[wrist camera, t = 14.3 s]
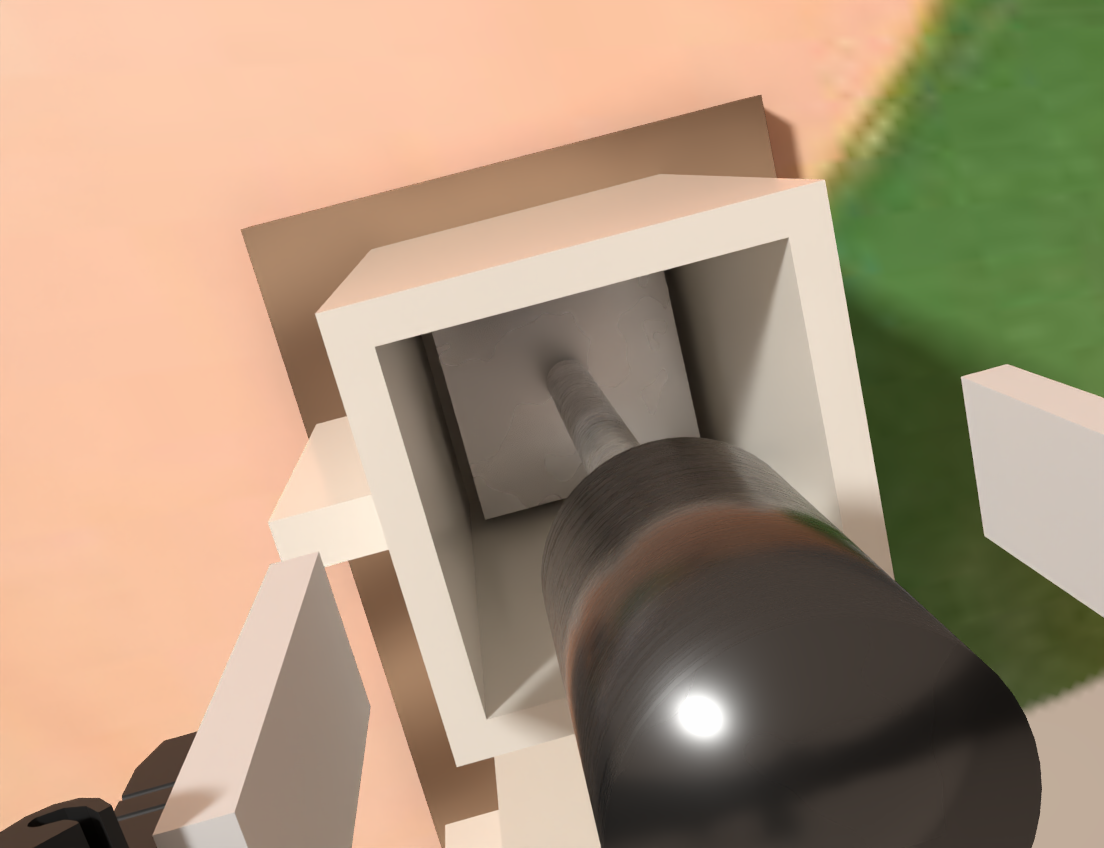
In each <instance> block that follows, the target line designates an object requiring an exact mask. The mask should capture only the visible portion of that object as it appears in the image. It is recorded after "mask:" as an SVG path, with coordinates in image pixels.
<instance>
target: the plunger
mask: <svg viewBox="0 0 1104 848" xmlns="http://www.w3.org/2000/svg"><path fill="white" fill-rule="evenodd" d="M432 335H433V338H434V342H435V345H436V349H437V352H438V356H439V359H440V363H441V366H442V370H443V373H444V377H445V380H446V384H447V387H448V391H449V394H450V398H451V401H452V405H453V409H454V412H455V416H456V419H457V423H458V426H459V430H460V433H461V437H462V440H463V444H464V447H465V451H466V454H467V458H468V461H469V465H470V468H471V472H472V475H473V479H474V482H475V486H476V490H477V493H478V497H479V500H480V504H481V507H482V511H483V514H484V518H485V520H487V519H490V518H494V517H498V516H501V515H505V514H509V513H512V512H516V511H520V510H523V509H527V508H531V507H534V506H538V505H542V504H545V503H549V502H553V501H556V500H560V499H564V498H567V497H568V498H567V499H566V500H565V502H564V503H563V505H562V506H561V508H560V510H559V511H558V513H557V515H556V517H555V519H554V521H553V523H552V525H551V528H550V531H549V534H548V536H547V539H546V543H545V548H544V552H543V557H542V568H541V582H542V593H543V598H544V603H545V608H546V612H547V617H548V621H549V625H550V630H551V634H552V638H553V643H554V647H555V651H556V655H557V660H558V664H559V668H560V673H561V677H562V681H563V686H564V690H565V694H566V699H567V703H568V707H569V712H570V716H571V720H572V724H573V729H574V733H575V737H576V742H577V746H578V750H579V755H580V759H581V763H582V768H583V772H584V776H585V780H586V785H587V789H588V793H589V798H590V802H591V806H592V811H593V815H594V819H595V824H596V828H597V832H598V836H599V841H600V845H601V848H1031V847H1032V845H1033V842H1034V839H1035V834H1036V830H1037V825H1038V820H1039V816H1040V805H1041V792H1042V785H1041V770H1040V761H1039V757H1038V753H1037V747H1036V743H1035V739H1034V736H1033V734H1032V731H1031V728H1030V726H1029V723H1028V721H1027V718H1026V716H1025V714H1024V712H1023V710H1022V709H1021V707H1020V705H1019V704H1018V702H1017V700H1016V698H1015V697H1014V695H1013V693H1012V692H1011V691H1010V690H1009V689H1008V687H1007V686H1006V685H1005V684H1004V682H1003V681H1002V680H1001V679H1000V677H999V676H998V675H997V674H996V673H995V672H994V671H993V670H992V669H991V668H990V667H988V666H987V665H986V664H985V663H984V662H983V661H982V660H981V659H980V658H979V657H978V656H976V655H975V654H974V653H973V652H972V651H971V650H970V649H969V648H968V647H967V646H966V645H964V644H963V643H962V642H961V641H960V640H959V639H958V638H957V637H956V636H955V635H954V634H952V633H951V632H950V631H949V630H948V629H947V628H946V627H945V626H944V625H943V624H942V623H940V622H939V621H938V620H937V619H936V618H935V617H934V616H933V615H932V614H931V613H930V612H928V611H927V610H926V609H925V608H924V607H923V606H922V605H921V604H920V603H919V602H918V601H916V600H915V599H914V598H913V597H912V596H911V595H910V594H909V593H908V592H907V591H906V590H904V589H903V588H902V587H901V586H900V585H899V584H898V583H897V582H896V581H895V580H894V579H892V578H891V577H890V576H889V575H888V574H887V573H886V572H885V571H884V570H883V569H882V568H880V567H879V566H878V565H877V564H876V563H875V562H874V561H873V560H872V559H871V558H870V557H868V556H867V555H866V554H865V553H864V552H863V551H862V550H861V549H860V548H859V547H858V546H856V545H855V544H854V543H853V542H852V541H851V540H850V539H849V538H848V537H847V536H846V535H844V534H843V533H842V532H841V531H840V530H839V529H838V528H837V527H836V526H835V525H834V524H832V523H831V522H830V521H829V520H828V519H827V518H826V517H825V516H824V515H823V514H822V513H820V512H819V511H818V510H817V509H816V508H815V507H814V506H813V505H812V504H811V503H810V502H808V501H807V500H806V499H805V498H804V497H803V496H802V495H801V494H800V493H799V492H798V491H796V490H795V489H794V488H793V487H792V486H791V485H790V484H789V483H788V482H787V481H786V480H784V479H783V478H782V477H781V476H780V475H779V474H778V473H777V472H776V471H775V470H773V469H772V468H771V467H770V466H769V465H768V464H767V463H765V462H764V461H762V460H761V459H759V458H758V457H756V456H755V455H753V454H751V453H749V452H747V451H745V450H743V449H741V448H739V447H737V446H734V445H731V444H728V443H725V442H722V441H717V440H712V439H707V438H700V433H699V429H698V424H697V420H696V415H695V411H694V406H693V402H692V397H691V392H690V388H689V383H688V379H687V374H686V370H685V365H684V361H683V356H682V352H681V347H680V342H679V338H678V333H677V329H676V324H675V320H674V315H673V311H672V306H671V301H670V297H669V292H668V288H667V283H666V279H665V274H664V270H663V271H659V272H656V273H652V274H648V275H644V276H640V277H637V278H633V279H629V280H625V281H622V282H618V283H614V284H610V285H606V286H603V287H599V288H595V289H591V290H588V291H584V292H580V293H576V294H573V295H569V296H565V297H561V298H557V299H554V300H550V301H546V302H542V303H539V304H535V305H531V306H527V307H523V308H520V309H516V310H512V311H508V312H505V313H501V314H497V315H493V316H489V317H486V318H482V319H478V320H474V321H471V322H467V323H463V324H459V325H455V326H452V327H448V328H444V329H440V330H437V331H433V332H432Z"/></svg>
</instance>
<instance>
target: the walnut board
mask: <svg viewBox="0 0 1104 848" xmlns="http://www.w3.org/2000/svg"><path fill="white" fill-rule="evenodd" d="M658 174H674V175H703V176H732V177H761V178H777V177H776V172H775V166H774V161H773V156H772V150H771V145H770V139H769V134H768V129H767V123H766V118H765V113H764V107H763V102H762V97H761V95H758V96H754V97H749V98H745V99H741V100H738V101H734V102H730V103H726V104H722V105H718V106H714V107H711V108H707V109H703V110H699V111H695V112H691V113H687V114H684V115H680V116H676V117H672V118H668V119H664V120H660V121H657V122H653V123H649V124H645V125H641V126H637V127H633V128H630V129H626V130H622V131H618V132H614V133H610V134H606V135H602V136H599V137H595V138H591V139H587V140H583V141H579V142H575V143H572V144H568V145H564V146H560V147H556V148H552V149H548V150H545V151H541V152H537V153H533V154H529V155H525V156H521V157H518V158H514V159H510V160H506V161H502V162H498V163H494V164H491V165H487V166H483V167H479V168H475V169H471V170H467V171H464V172H460V173H456V174H452V175H448V176H444V177H440V178H437V179H433V180H429V181H425V182H421V183H417V184H413V185H410V186H406V187H402V188H398V189H394V190H390V191H386V192H383V193H379V194H375V195H371V196H367V197H363V198H359V199H356V200H352V201H348V202H344V203H340V204H336V205H332V206H329V207H325V208H321V209H317V210H313V211H309V212H305V213H302V214H298V215H294V216H290V217H286V218H282V219H278V220H275V221H271V222H267V223H263V224H259V225H255V226H251V227H248V228H245V229H242V230H241V232H242V235H243V238H244V241H245V244H246V247H247V250H248V253H249V257H250V260H251V263H252V266H253V269H254V272H255V275H256V278H257V281H258V284H259V287H260V290H261V293H262V297H263V300H264V303H265V306H266V309H267V312H268V315H269V318H270V321H271V324H272V327H273V330H274V333H275V337H276V340H277V343H278V346H279V349H280V352H281V355H282V358H283V361H284V364H285V367H286V370H287V373H288V377H289V380H290V383H291V386H292V389H293V392H294V395H295V398H296V401H297V404H298V407H299V410H300V413H301V416H302V420H303V423H304V426H305V429H306V432H307V435H308V438H310V436H311V434H312V432H313V430H314V428H315V426H316V424H319V423H323V422H327V421H330V420H334V419H338V418H342V417H345V416H347V415H346V411H345V408H344V405H343V402H342V399H341V395H340V392H339V389H338V386H337V383H336V379H335V376H334V373H333V370H332V367H331V363H330V360H329V357H328V354H327V351H326V347H325V344H324V341H323V338H322V335H321V331H320V328H319V325H318V322H317V319H316V316H315V313H316V312H317V311H318V310H319V309H320V307H321V306H322V305H323V304H324V303H325V302H326V301H327V299H328V298H329V297H330V296H331V295H332V294H333V292H334V291H335V290H336V289H337V288H338V287H339V286H340V284H341V283H342V282H343V281H344V280H345V279H346V278H347V276H348V275H349V274H350V273H351V272H352V271H353V269H354V268H355V267H356V266H357V265H358V264H359V263H360V261H361V260H362V259H363V258H364V257H365V256H366V255H367V253H368V252H369V251H370V250H371V249H375V248H378V247H382V246H386V245H390V244H394V243H398V242H401V241H405V240H409V239H413V238H417V237H421V236H424V235H428V234H432V233H436V232H440V231H444V230H447V229H451V228H455V227H459V226H463V225H466V224H470V223H474V222H478V221H482V220H486V219H489V218H493V217H497V216H501V215H505V214H509V213H512V212H516V211H520V210H524V209H528V208H532V207H535V206H539V205H543V204H547V203H551V202H555V201H558V200H562V199H566V198H570V197H574V196H578V195H581V194H585V193H589V192H593V191H597V190H600V189H604V188H608V187H612V186H616V185H620V184H623V183H627V182H631V181H635V180H639V179H643V178H646V177H650V176H654V175H658ZM349 564H350V567H351V570H352V573H353V576H354V579H355V583H356V586H357V589H358V592H359V595H360V598H361V601H362V604H363V607H364V610H365V613H366V616H367V619H368V623H369V626H370V629H371V632H372V635H373V638H374V641H375V644H376V647H377V650H378V653H379V656H380V659H381V663H382V666H383V669H384V672H385V675H386V678H387V681H388V684H389V687H390V690H391V693H392V696H393V699H394V702H395V706H396V709H397V712H398V715H399V718H400V721H401V724H402V727H403V730H404V733H405V736H406V739H407V742H408V746H409V749H410V752H411V755H412V758H413V761H414V764H415V767H416V770H417V773H418V776H419V779H420V782H421V786H422V789H423V792H424V795H425V798H426V801H427V804H428V807H429V810H430V813H431V816H432V819H433V822H434V826H435V829H436V832H437V835H438V838H439V841H440V844H441V847H442V848H445V825H447V824H450V823H454V822H457V821H461V820H464V819H468V818H471V817H475V816H479V815H482V814H486V813H489V812H493V811H496V810H499V806H498V795H497V783H496V772H495V760H494V757H491V758H488V759H484V760H481V761H477V762H474V763H470V764H466V765H463V766H459V767H457V766H456V763H455V760H454V756H453V753H452V750H451V747H450V744H449V740H448V737H447V734H446V731H445V728H444V724H443V721H442V718H441V715H440V712H439V708H438V705H437V702H436V699H435V696H434V693H433V689H432V686H431V683H430V680H429V677H428V673H427V670H426V667H425V664H424V661H423V657H422V654H421V651H420V648H419V645H418V641H417V638H416V635H415V632H414V629H413V625H412V622H411V619H410V616H409V613H408V609H407V606H406V603H405V600H404V597H403V593H402V590H401V587H400V584H399V581H398V577H397V574H396V571H395V568H394V565H393V562H392V558H391V555H390V552H389V550H385V551H382V552H378V553H374V554H371V555H367V556H363V557H360V558H356V559H352V560H349Z"/></svg>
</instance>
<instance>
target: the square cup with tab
mask: <svg viewBox="0 0 1104 848" xmlns="http://www.w3.org/2000/svg"><path fill="white" fill-rule="evenodd" d="M494 760H495V772H496V783H497V795H498V806H499V810H496V811H493V812H489V813H486V814H482V815H479V816H475V817H471V818H468V819H464V820H461V821H457V822H454V823H450V824H447V825H445V848H601V845H600V841H599V836H598V832H597V828H596V824H595V819H594V815H593V811H592V806H591V802H590V798H589V793H588V789H587V785H586V780H585V776H584V772H583V768H582V763H581V759H580V755H579V750H578V746H577V742H576V737H575V734H573V735H570V736H566V737H562V738H559V739H555V740H552V741H548V742H545V743H541V744H538V745H534V746H530V747H527V748H523V749H520V750H516V751H513V752H509V753H506V754H502V755H498V756H495V757H494Z"/></svg>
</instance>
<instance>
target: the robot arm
mask: <svg viewBox="0 0 1104 848" xmlns="http://www.w3.org/2000/svg"><path fill="white" fill-rule="evenodd" d="M961 381H962V388H963V394H964V401H965V408H966V415H967V422H968V428H969V435H970V442H971V449H972V455H973V462H974V469H975V476H976V483H977V489H978V496H979V503H980V510H981V516H982V523H983V530H984V536H985V537H987V538H988V539H989V540H991V541H992V542H994V543H995V544H997V545H998V546H1000V547H1001V548H1003V549H1004V550H1006V551H1007V552H1009V553H1010V554H1011V555H1013V556H1014V557H1016V558H1017V559H1019V560H1020V561H1022V562H1023V563H1025V564H1026V565H1028V566H1029V567H1031V568H1032V569H1033V570H1035V571H1036V572H1038V573H1039V574H1041V575H1042V576H1044V577H1045V578H1047V579H1048V580H1050V581H1051V582H1052V583H1054V584H1055V585H1057V586H1058V587H1060V588H1061V589H1063V590H1064V591H1066V592H1067V593H1069V594H1070V595H1072V596H1073V597H1074V598H1076V599H1077V600H1079V601H1080V602H1082V603H1083V604H1085V605H1086V606H1088V607H1089V608H1091V609H1092V610H1093V611H1095V612H1096V613H1098V614H1099V615H1101V616H1102V617H1104V398H1102V397H1099V396H1097V395H1094V394H1091V393H1088V392H1085V391H1082V390H1080V389H1077V388H1074V387H1071V386H1068V385H1065V384H1062V383H1060V382H1057V381H1054V380H1051V379H1048V378H1045V377H1042V376H1040V375H1037V374H1034V373H1031V372H1028V371H1025V370H1022V369H1020V368H1017V367H1014V366H1011V365H1008V364H1006V365H1002V366H999V367H995V368H991V369H987V370H984V371H980V372H976V373H973V374H969V375H965V376H962V377H961ZM369 714H370V704H369V701H368V698H367V695H366V692H365V689H364V686H363V683H362V680H361V677H360V674H359V671H358V668H357V665H356V662H355V659H354V656H353V653H352V650H351V647H350V644H349V641H348V638H347V635H346V632H345V629H344V626H343V623H342V620H341V617H340V614H339V611H338V608H337V605H336V602H335V598H334V595H333V592H332V589H331V586H330V583H329V580H328V577H327V574H326V571H325V568H324V565H323V562H322V559H321V556H320V553H319V551H318V552H314V553H310V554H307V555H303V556H299V557H296V558H292V559H288V560H285V561H281V562H277V563H274V564H270V566H269V568H268V570H267V573H266V575H265V577H264V580H263V582H262V584H261V586H260V589H259V591H258V593H257V596H256V598H255V600H254V603H253V605H252V607H251V609H250V612H249V614H248V616H247V619H246V621H245V623H244V626H243V628H242V630H241V632H240V635H239V637H238V639H237V642H236V644H235V646H234V649H233V651H232V653H231V655H230V658H229V660H228V662H227V665H226V667H225V669H224V672H223V674H222V676H221V678H220V681H219V683H218V685H217V688H216V690H215V692H214V695H213V697H212V699H211V701H210V704H209V706H208V708H207V711H206V713H205V715H204V718H203V720H202V722H201V724H200V727H199V729H198V731H197V732H194V733H190V734H187V735H183V736H180V737H176V738H172V739H169V740H165V741H163V742H162V743H161V744H160V745H159V746H158V747H157V748H156V749H155V750H154V751H153V752H152V753H151V754H150V755H149V756H148V757H147V758H146V759H145V760H144V761H143V762H142V763H141V764H140V765H139V766H138V767H137V768H136V769H135V771H134V773H133V775H132V777H131V779H130V781H129V783H128V785H127V787H126V789H125V791H124V793H123V795H122V801H119V803H118V805H117V806H116V808H115V810H113V808H112V805H110V804H108V803H107V802H105V801H104V800H102V799H100V798H78V799H74V800H70V801H66V802H62V803H58V804H54V805H51V806H49V807H47V808H45V809H42V810H40V811H38V812H35V813H33V814H31V815H28V816H26V817H24V818H23V819H21V820H19V821H18V822H16V823H14V824H13V825H11V826H10V827H8V828H6V829H5V830H3V831H1V832H0V848H352V840H353V833H354V826H355V818H356V811H357V803H358V796H359V788H360V781H361V773H362V766H363V759H364V751H365V744H366V736H367V729H368V721H369Z"/></svg>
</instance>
